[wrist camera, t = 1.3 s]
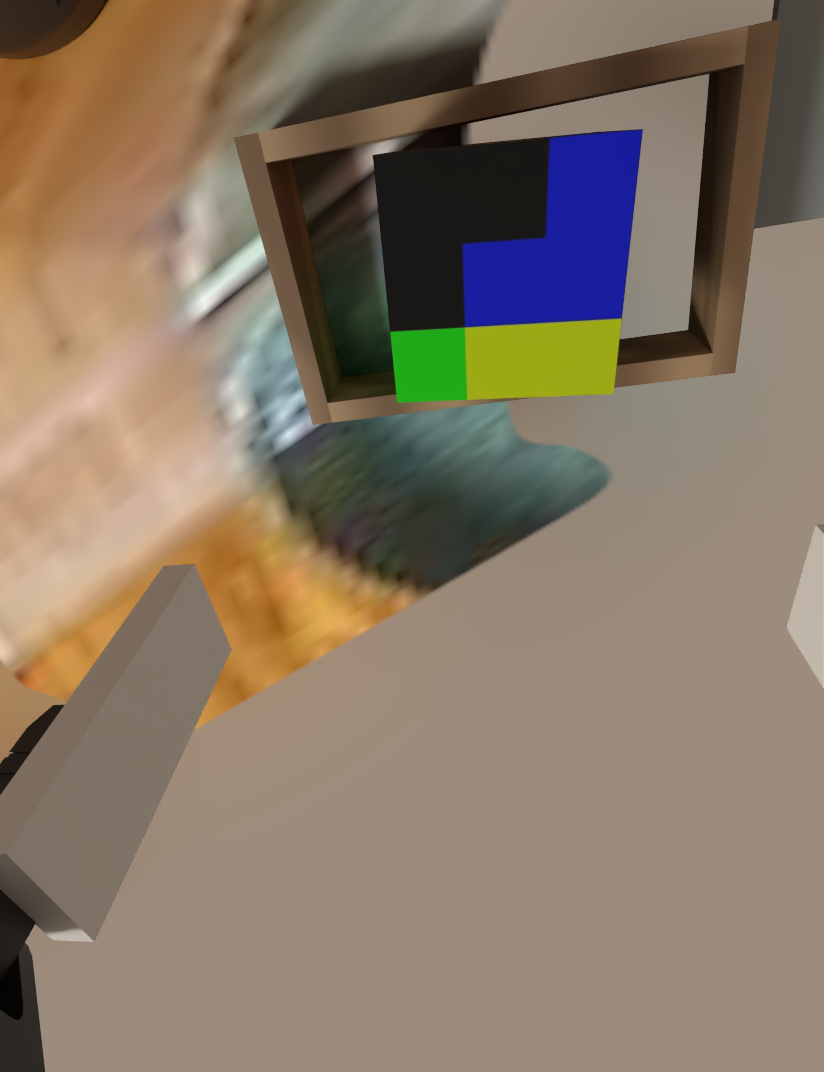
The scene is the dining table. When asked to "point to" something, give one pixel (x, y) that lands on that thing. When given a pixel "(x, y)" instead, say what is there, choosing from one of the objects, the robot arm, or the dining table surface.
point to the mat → (795, 119)
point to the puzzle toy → (507, 264)
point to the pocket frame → (730, 126)
